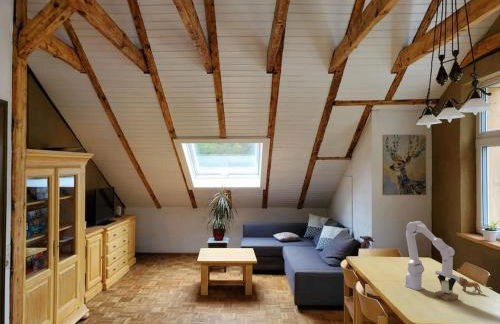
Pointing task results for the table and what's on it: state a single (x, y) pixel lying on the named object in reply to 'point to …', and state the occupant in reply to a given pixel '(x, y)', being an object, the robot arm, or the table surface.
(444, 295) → the walnut block
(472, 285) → the lion figurine
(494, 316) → the table surface
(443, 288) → the sage block
